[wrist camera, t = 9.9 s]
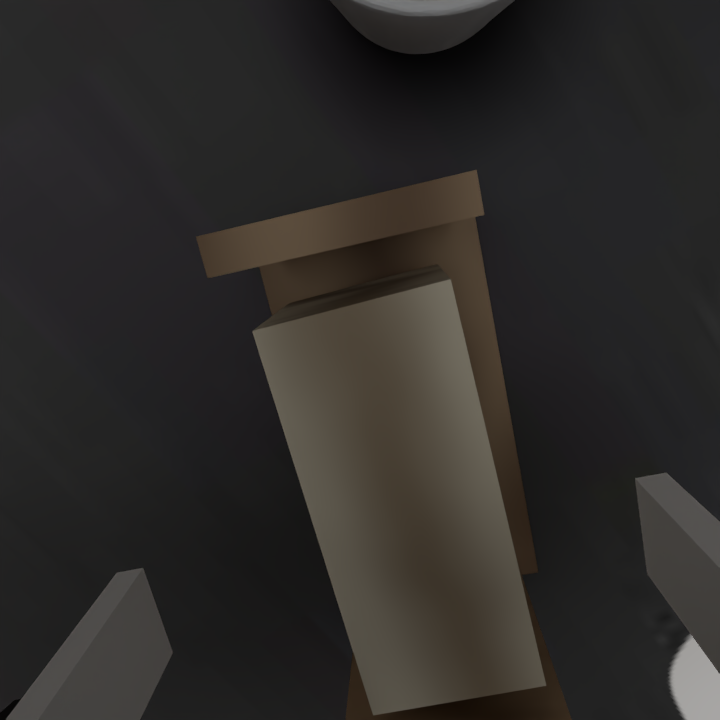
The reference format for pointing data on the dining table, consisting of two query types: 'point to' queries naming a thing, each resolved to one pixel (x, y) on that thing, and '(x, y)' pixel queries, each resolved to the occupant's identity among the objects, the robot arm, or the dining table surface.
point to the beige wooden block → (402, 489)
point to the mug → (419, 21)
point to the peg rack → (466, 270)
